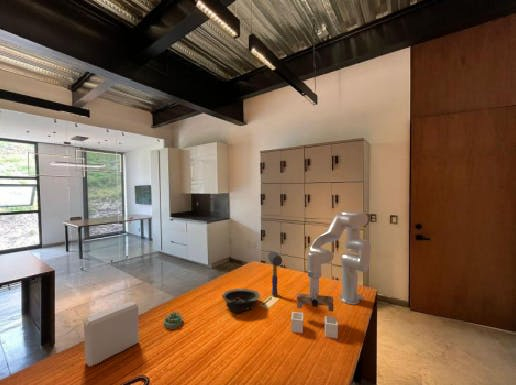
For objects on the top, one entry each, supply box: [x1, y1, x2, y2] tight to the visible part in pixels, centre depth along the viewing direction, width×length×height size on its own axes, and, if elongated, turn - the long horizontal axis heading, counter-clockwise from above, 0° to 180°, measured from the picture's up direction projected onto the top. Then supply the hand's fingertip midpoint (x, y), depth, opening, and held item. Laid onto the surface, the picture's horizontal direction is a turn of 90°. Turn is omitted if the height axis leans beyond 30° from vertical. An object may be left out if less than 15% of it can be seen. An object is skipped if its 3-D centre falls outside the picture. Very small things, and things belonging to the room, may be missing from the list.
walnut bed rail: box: [296, 293, 334, 313], centre depth 134 cm, size 20×4×7 cm, turn 77°
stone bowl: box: [221, 288, 261, 313], centre depth 150 cm, size 25×25×9 cm
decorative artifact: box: [163, 311, 184, 330], centre depth 131 cm, size 10×7×10 cm
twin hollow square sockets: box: [290, 311, 339, 340], centre depth 124 cm, size 24×7×7 cm, turn 77°
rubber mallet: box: [267, 250, 283, 297], centre depth 163 cm, size 12×8×30 cm, turn 14°
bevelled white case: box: [83, 300, 140, 367], centre depth 109 cm, size 21×8×20 cm, turn 141°
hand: (314, 304), depth 134 cm, fingers closed on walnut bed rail, 3 cm apart
